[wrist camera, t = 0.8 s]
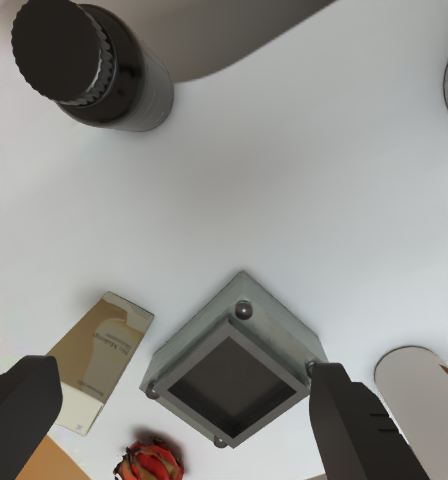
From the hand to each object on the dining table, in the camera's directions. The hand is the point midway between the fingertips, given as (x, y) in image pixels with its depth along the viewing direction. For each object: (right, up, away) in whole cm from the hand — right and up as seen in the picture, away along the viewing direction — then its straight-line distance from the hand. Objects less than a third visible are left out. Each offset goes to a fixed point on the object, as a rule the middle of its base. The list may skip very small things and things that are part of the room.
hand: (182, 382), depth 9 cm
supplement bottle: (-7, +18, +17) cm, 25 cm away
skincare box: (-11, -4, +24) cm, 27 cm away
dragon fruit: (-8, -26, +31) cm, 41 cm away
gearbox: (+2, -8, +25) cm, 26 cm away
